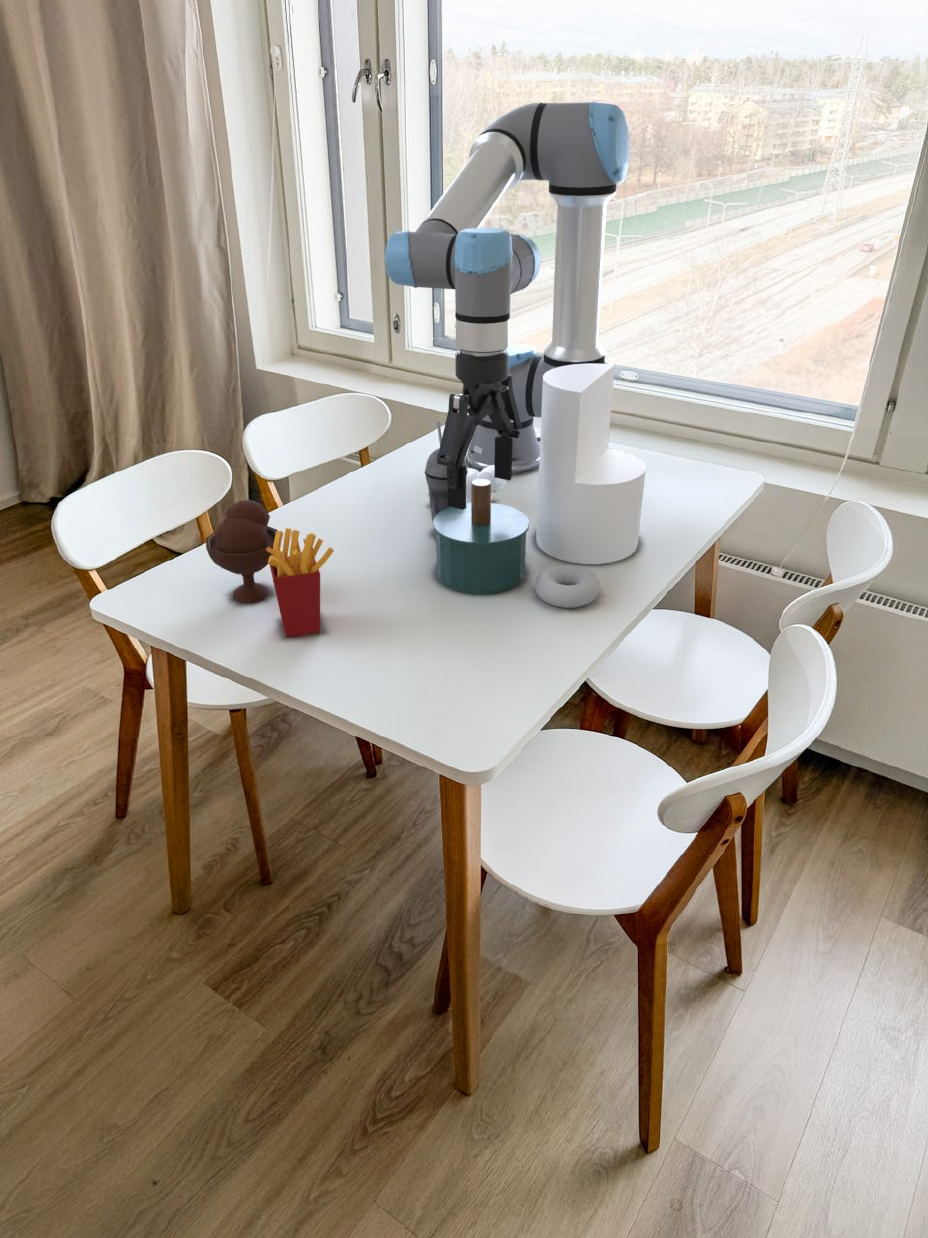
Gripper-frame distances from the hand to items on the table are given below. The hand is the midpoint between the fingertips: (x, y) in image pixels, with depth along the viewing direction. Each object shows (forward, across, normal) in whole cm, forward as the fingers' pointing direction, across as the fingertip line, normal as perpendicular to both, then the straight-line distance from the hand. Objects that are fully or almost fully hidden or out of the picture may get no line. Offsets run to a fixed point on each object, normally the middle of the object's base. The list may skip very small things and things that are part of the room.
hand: (480, 492), depth 133 cm
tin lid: (+5, 0, 0) cm, 5 cm away
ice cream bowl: (+14, +24, -27) cm, 39 cm away
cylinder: (+14, -20, +9) cm, 26 cm away
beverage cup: (+14, -10, -13) cm, 21 cm away
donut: (+14, -1, +15) cm, 21 cm away
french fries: (+14, +26, -14) cm, 33 cm away
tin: (+14, 0, 0) cm, 14 cm away
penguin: (+14, -22, -16) cm, 30 cm away
